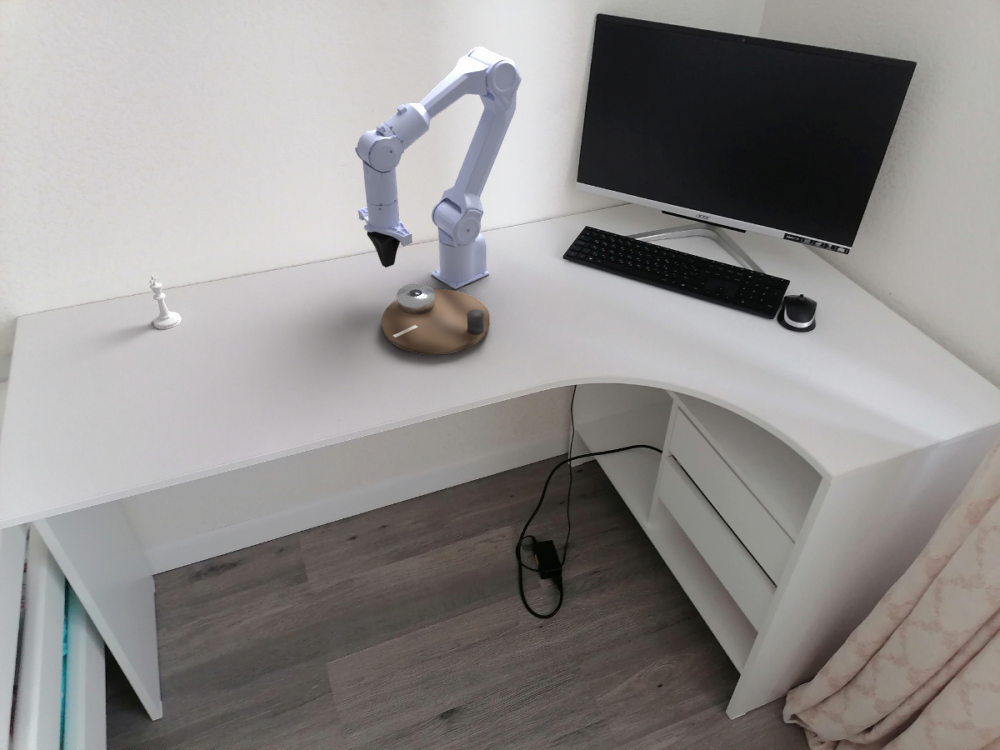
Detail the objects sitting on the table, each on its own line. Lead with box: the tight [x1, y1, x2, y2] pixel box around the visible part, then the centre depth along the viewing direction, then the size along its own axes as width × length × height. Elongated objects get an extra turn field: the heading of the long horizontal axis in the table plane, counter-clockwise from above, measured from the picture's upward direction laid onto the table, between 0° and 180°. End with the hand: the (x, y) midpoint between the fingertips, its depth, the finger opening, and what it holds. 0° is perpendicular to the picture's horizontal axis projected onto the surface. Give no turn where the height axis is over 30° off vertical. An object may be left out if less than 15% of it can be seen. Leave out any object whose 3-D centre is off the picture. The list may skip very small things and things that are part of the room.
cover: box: [396, 283, 435, 314], centre depth 139 cm, size 7×7×3 cm
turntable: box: [381, 288, 490, 356], centre depth 135 cm, size 20×20×5 cm
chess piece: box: [149, 274, 182, 330], centre depth 135 cm, size 5×5×10 cm
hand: (388, 264), depth 141 cm, fingers closed
